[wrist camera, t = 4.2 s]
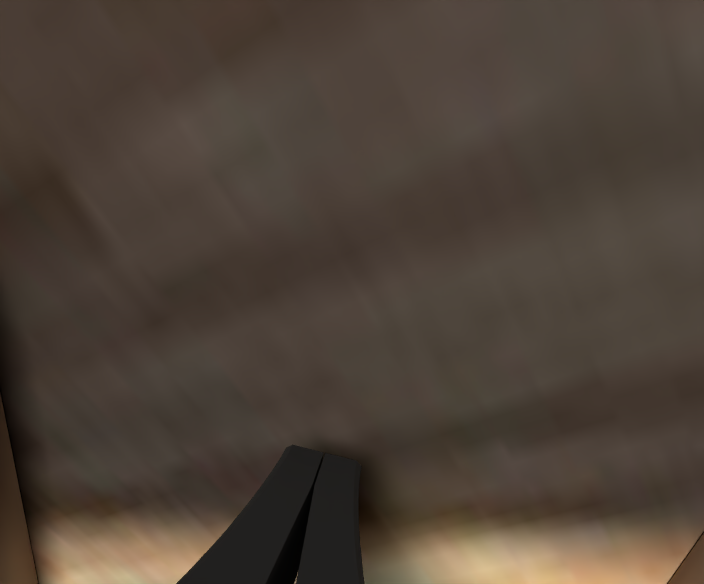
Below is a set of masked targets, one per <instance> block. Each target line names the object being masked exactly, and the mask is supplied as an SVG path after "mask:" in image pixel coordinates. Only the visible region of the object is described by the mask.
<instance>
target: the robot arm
mask: <svg viewBox="0 0 704 584" xmlns="http://www.w3.org/2000/svg"><path fill="white" fill-rule="evenodd" d="M323 453H324V452H320V451H316V450H312V449H308V448H303V447H299V446H295V445H291V446H289V447H287V448H286V449H285V451H284V453H283V454H282V456H281V458H280V460H279V461H278V463H277V464H276V466H275V467H274V469H273V470H272V472H271V473H270V475H269V476H268V478H267V479H266V480H265V482H264V483H263V485H262V486H261V487H260V489H259V490H258V491H257V493H256V494H255V495H254V497H253V498H252V499H251V501H250V502H249V503H248V504H247V505H246V507H245V508H244V509H243V510H242V512H241V513H240V514H239V515H238V516H237V518H236V519H235V520H234V521H233V523H232V524H231V525H230V526H229V527H228V529H227V530H226V531H225V532H224V533H223V534H222V536H221V537H220V538H219V539H218V540H217V541H216V542H215V543H214V544H213V545H212V546H211V548H210V549H209V550H208V551H207V552H206V553H205V554H204V555H203V556H202V557H201V558H200V560H199V561H198V562H197V563H196V564H195V565H194V566H193V567H192V568H191V569H190V570H189V571H188V572H187V573H186V574H185V575H184V576H183V577H182V578H181V579H180V580H179V581H178V582H177V583H176V584H294V582H295V579H296V576H297V573H298V576H297V582H296V584H364V577H363V567H362V557H361V548H360V536H359V512H358V496H359V481H360V472H361V467H362V466H361V465H360V464H359V463H358V461H356V460H352V459H348V458H344V457H340V456H336V455H332V454H328V453H325V456H324V459H323ZM322 459H323V462H322ZM298 570H299V571H298Z"/></svg>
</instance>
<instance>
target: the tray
mask: <svg viewBox="0 0 704 584" xmlns="http://www.w3.org/2000/svg"><path fill="white" fill-rule="evenodd" d="M0 584H38V580H37V575H36V570H35V565H34V560H33V555H32V550H31V545H30V540H29V535H28V530H27V525H26V520H25V515H24V510H23V505H22V500H21V495H20V490H19V484H18V479H17V474H16V469H15V464H14V459H13V454H12V449H11V444H10V439H9V434H8V429H7V424H6V419H5V414H4V409H3V404H2V399H1V394H0ZM668 584H704V533H703V535H702V536H701V538H700V539H699V541H698V542H697V543H696V545H695V546H694V548H693V549H692V550H691V552H690V553H689V555H688V556H687V558H686V559H685V560H684V562H683V563H682V565H681V566H680V567H679V569H678V570H677V572H676V573H675V574H674V576H673V577H672V579H671V580H670V582H669V583H668Z"/></svg>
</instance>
